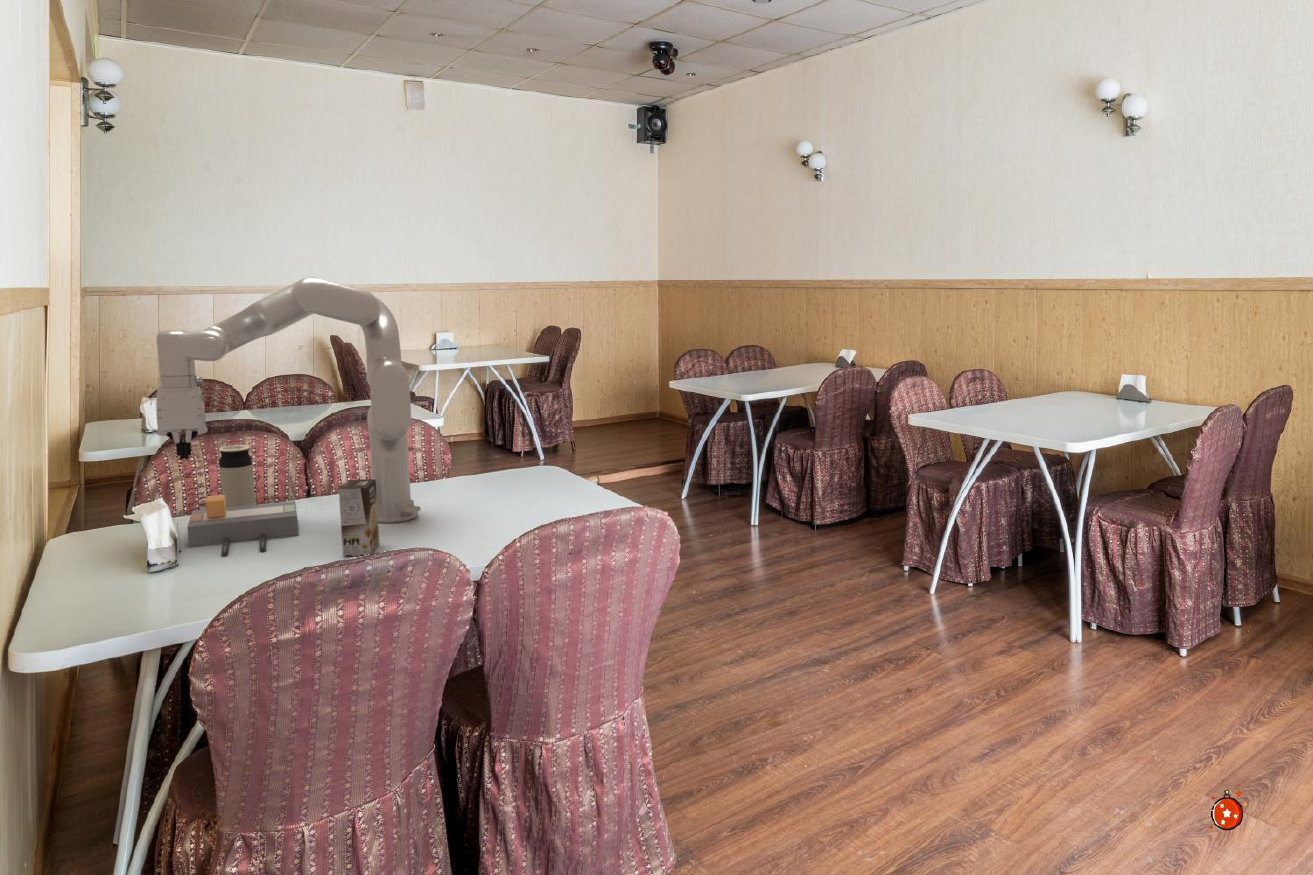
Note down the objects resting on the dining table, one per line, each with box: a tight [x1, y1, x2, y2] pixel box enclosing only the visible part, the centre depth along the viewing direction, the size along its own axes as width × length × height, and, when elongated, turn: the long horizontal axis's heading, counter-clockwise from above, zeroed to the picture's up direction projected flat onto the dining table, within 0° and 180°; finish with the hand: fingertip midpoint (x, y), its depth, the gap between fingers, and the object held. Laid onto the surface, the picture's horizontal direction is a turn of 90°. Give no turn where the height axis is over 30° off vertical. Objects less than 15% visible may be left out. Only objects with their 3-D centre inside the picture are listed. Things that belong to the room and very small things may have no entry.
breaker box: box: [186, 500, 299, 557], centre depth 214 cm, size 24×27×5 cm
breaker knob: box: [205, 494, 227, 518], centre depth 216 cm, size 4×6×4 cm, turn 23°
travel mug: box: [218, 444, 257, 508], centre depth 237 cm, size 8×8×18 cm
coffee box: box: [338, 478, 380, 557], centre depth 203 cm, size 9×6×16 cm
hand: (184, 458), depth 211 cm, fingers closed
